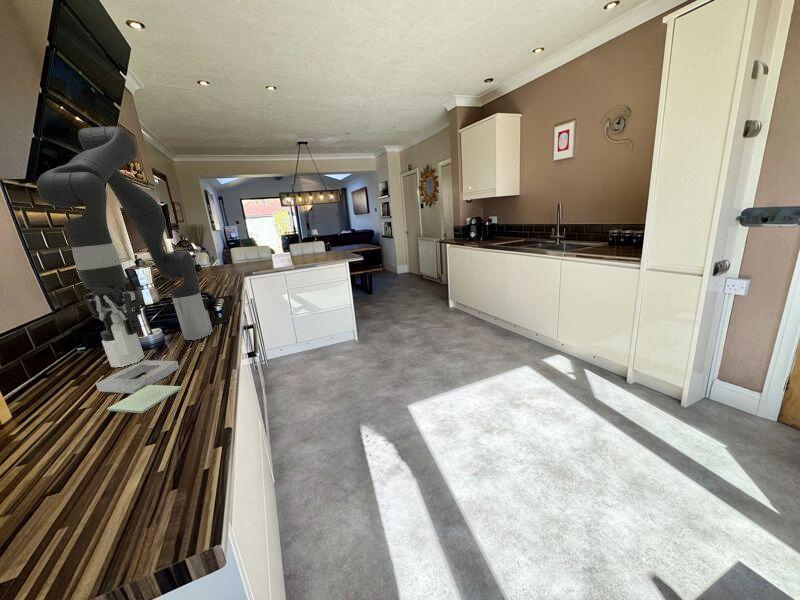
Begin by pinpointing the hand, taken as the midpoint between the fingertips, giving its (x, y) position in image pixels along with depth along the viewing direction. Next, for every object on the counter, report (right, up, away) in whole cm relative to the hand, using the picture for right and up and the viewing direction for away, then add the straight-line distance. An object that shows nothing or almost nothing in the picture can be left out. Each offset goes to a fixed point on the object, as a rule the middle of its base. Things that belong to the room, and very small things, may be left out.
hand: (123, 333), depth 78 cm
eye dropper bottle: (0, -6, +2) cm, 6 cm away
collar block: (-9, -15, +16) cm, 24 cm away
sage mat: (+2, -18, +5) cm, 18 cm away
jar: (-24, -13, +30) cm, 41 cm away
